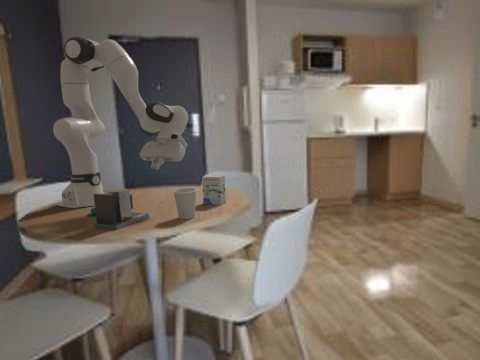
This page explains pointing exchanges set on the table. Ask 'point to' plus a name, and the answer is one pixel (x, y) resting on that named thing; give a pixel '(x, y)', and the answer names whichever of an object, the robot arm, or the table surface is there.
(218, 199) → the ink box
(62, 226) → the table surface
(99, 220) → the gauge bed
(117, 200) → the tall grey rectangular prism
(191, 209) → the dixie cup
